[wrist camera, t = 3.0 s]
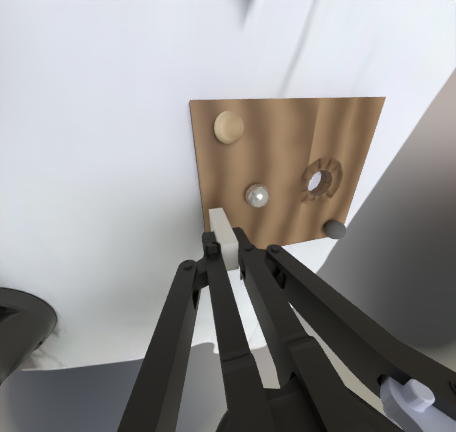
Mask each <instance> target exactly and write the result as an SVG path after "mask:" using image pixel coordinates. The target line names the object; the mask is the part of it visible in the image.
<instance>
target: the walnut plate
mask: <svg viewBox="0 0 456 432" xmlns="http://www.w3.org/2000/svg"><path fill="white" fill-rule="evenodd" d="M385 98H386V97H350V98H289V99H228V100H190V102H189V105H190V113H191V121H192V129H193V137H194V145H195V153H196V161H197V169H198V177H199V185H200V193H201V201H202V209H203V217H204V225H205V232H211V227H210V217H209V209H215V208H223V210H224V213H225V215H226V217H227V219H228V221H229V223H230V226H231V228H235V227H240V228H242V229H243V231H244V232H245V234H246V236H247V238H248V239H249V241H250V243H251V244H253V245H255V247H256V248H258V249H266V248H267V246H269V245H272V244H275V245H279V246H285V245H290V244H295V243H300V242H305V241H310V240H315V239H320V238H326V237H328V236H327V235H326V234H325V232H324V227H325V225H326V224H327V223H328V222H330V221H339V222H341V223H343V224H344V223H345V220H346V217H347V214H348V211H349V208H350V205H351V202H352V199H353V196H354V193H355V190H356V187H357V184H358V181H359V178H360V175H361V171H362V168H363V165H364V162H365V159H366V156H367V153H368V150H369V147H370V144H371V141H372V138H373V135H374V132H375V129H376V126H377V123H378V120H379V117H380V114H381V110H382V107H383V104H384V101H385ZM224 111H234V112H236V113H237V114H238V115H239V116H240V117H241V118H242V121H243V124H244V131H243V134H242V136H241V138H240V139H239V140H238V141H237V142H236V143H233V144H224V143H222V142H221V141H219V140H218V138H217V137H216V135H215V132H214V123H215V120H216V118H217V117H218V115H219V114H221V113H222V112H224ZM320 170H321V174H322V177H321V182H320V183H319V184H318V186H317V187H316V188H315V189H313V190H312V191H309V190H308V185H309V181H310V179H311V178H312V176H313V175H314V174H315V173H317V172H318V171H320ZM254 184H262V185H264V186H266V187H267V188H268V190H269V192H270V199H269V201H268V203H267V204H266V205H265V206H263V207H260V208H256V207H252V206H251V205H249V204H248V202H247V200H246V192H247V190H248V188H249V187H250V186H252V185H254Z"/></svg>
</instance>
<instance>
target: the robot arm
mask: <svg viewBox="0 0 456 432" xmlns="http://www.w3.org/2000/svg"><path fill="white" fill-rule="evenodd" d="M209 217H210V227H211V232H205V233H203V235H202V242H203V249H204V256H203V258H202V259H200V260H199V261H197V262H195V261H193V260H186V261H184V262H182V263H181V264H180V265H179V267H178V269H177V272H176V275H175V277H174V280H173V283H172V285H171V288H170V291H169V294H168V296H167V299H166V302H165V304H164V307H163V310H162V312H161V315H160V318H159V320H158V323H157V326H156V328H155V331H154V334H153V336H152V339H151V342H150V344H149V347H148V350H147V352H146V355H145V358H144V361H143V363H142V366H141V369H140V372H139V374H138V377H137V379H136V382H135V385H134V388H133V390H132V393H131V396H130V398H129V401H128V403H127V406H126V409H125V412H124V414H123V417H122V420H121V422H120V425H119V428H118V431H117V432H175V430H176V425H177V419H178V413H179V408H180V402H181V397H182V392H183V386H184V381H185V375H186V369H187V364H188V359H189V353H190V348H191V343H192V337H193V332H194V326H195V321H196V315H197V310H198V304H199V299H200V293H201V289H202V288H204V287H206V286H208V285H209V290H210V296H211V303H212V309H213V316H214V323H215V329H216V336H217V342H218V349H219V355H220V362H221V368H222V374H223V382H224V388H225V395H226V402H227V408H228V410H227V411H226V413H225V414H224V415H223V417H222V419H221V421H220V423H219V425H218V427H217V430H216V432H456V372H454V371H452V370H450V369H448V368H447V367H445V366H443V365H442V364H440V363H438V362H436V361H434V360H433V359H431V358H429V357H427V356H425V355H424V354H422V353H420V352H418V351H416V350H415V349H413V348H411V347H410V346H408V345H406V344H404V343H402V342H400V341H399V340H397V339H396V338H395V337H394V336H392V335H391V334H390V333H388V332H387V331H386V330H385V329H384V328H382V327H381V326H380V325H379V324H377V323H376V322H375V321H374V320H372V319H371V318H370V317H368V316H367V315H366V314H365V313H363V312H362V311H361V310H360V309H359V308H357V307H356V306H355V305H353V304H352V303H351V302H350V301H348V300H347V299H346V298H345V297H343V296H342V295H341V294H340V293H338V292H337V291H336V290H335V289H333V288H332V287H331V286H330V285H328V284H327V283H326V282H325V281H323V280H322V279H321V278H320V277H318V276H317V275H316V274H315V273H313V272H312V271H311V270H310V269H308V268H307V267H306V266H305V265H303V264H302V263H301V262H300V261H298V260H297V259H296V258H295V257H293V256H292V255H291V254H290V253H288V252H287V251H286V250H285V249H283V248H282V247H281V246H279V245H275V244H272V245H269V246H267V248H266V249H258V248H256V247H255V245H253V244H251V243H250V241H249V239H248V238H247V236H246V234H245V232H244V231H243V229H242V228H240V227H235V228H231V226H230V223H229V221H228V219H227V217H226V215H225V213H224V210H223V208H215V209H209ZM239 266H240V279H241V280H242V279H243V281H244V284H245V287H246V289H247V292H248V295H249V297H250V300H251V303H252V305H253V308H254V311H255V313H256V316H257V319H258V321H259V324H260V327H261V329H262V332H263V335H264V338H265V340H266V343H267V346H268V348H269V351H270V353H271V356H272V359H273V361H274V364H275V367H276V371H277V376H278V381H279V384H280V389H269V388H263V384H262V381H261V378H260V375H259V371H258V368H257V365H256V362H255V359H254V356H253V355H252V353H251V351H250V349H249V345H248V342H247V339H246V335H245V332H244V328H243V325H242V321H241V318H240V315H239V311H238V308H237V304H236V301H235V298H234V294H233V291H232V287H231V284H230V280H229V277H228V274H227V271H230V270H235V269H239ZM289 303H290V304H291V305H292V306H293V307H294V308H295V309H296V311H297V312H298V313H299V314H300V315H301V316H302V317H303V318H304V319H305V321H306V322H307V323H308V324H309V325H310V326H311V327H312V328H313V330H314V331H315V332H316V333H317V334H318V335H319V336H320V337H321V338H322V339H323V341H324V342H325V343H326V344H327V345H328V346H329V347H330V349H331V350H332V351H333V352H334V353H335V354H336V355H337V356H338V357H339V359H340V360H341V361H342V362H343V363H344V364H345V365H346V366H347V367H348V368H349V370H350V371H351V372H352V373H353V374H354V375H355V376H356V377H357V378H358V379H359V380H360V381H361V382H362V383H363V384H364V385H365V386H366V387H367V388H369V390H371V391H372V392H373V393H374V394H375V395H376V396H378V397H379V398H380V399H381V401H382V404H383V410H384V412H385V414H386V416H387V417H388V418H389V419H390V420H389V419H388V418H387V417H385V416H384V415H383V414H381V413H380V412H379V411H377V410H376V409H375V408H373V407H372V406H371V405H369V404H368V403H367V402H366V401H364V400H363V399H362V398H360V397H359V396H358V395H356V394H355V393H354V392H352V391H351V390H350V389H348V388H347V387H346V386H345V385H344V383H343V381H342V380H341V378H340V377H339V375H338V373H337V372H336V370H335V369H334V367H333V365H332V364H331V362H330V360H329V359H328V357H327V356H326V354H325V352H324V351H323V349H322V347H321V346H320V344H319V343H318V341H317V340H316V339H315V338H314V337H313V336H309V335H308V334H307V333H306V331H305V330H304V328H303V326H302V325H301V323H300V321H299V320H298V318H297V316H296V314H295V313H294V311H293V309H292V308H291V306H290V304H289ZM55 324H56V315H55V313H54V311H53V310H52V308H51V307H50V306H49V305H47V304H46V303H45V302H43V301H42V300H40V299H38V298H36V297H34V296H31V295H29V294H26V293H23V292H19V291H15V290H10V289H3V288H0V385H1V384H2V382H3V381H4V380H5V379H6V378H7V377H8V376H9V375H10V374H11V373H12V372H13V371H14V370H15V369H16V368H17V367H18V366H20V365H21V364H22V363H23V362H24V361H25V360H26V359H27V358H28V357H29V356H30V355H31V353H32V352H33V351H34V350H36V349H37V348H38V347H40V346H41V345H42V344H43V343H44V341H45V340H46V339H47V338H48V336H49V334H50V333H51V331H52V330H53V328H54V327H55ZM394 423H395V424H394ZM396 424H397V425H399V426H400V427H401V428H402V429H403V430H402V429H401V428H400V427H398V426H397V425H396Z"/></svg>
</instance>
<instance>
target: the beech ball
mask: <svg viewBox="0 0 456 432" xmlns="http://www.w3.org/2000/svg"><path fill="white" fill-rule="evenodd" d="M243 131H244V124H243V121H242V118H241V117H240V116H239V115H238V114H237V113H236V112H234V111H224V112H222V113H221V114H219V115H218V117H217V118H216V120H215V123H214V132H215V135H216V137H217V138H218V140H219V141H221V142H222V143H224V144H233V143H236V142H237V141H238V140H239V139H240V138H241V136H242V134H243Z"/></svg>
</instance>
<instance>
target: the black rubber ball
mask: <svg viewBox="0 0 456 432" xmlns="http://www.w3.org/2000/svg"><path fill="white" fill-rule="evenodd" d="M324 232H325V234H326V235H327V236H328V237H329V238H332V239H340V238H342V237H343V236H344V235H345V233H346V228H345V226H344V224H343V223H341V222H339V221H330V222H328V223H327V224H326V225H325V227H324Z"/></svg>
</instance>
